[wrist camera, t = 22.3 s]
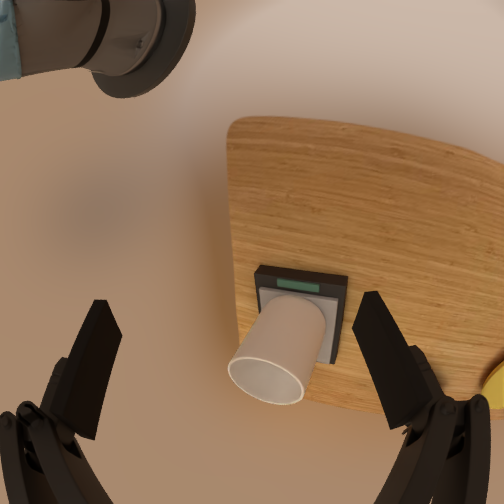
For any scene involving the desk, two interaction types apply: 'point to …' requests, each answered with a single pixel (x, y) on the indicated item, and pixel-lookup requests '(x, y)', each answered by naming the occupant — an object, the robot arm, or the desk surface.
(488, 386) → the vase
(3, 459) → the robot arm
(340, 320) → the scale
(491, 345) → the desk surface
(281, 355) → the cup
